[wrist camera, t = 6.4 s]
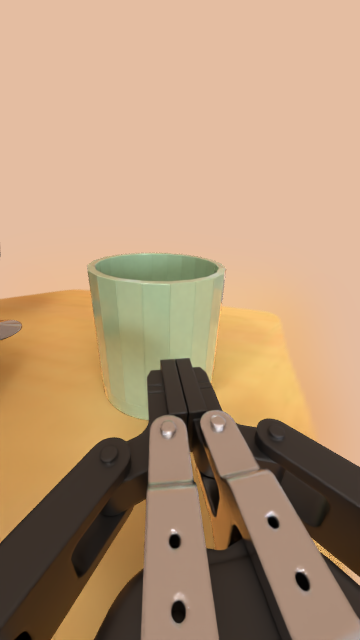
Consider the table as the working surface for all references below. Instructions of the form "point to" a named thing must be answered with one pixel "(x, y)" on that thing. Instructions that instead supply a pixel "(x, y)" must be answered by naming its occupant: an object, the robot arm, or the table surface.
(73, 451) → the table surface
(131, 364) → the tumbler
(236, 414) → the table surface
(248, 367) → the table surface
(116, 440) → the robot arm
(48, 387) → the table surface
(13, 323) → the wine glass
